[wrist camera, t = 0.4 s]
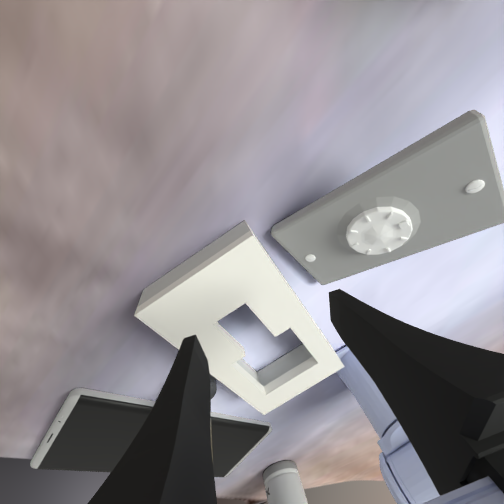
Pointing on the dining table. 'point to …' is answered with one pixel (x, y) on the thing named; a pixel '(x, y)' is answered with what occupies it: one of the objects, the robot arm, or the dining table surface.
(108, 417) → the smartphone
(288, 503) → the travel mug
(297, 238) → the light switch
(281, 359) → the keyhole board
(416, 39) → the dining table surface
